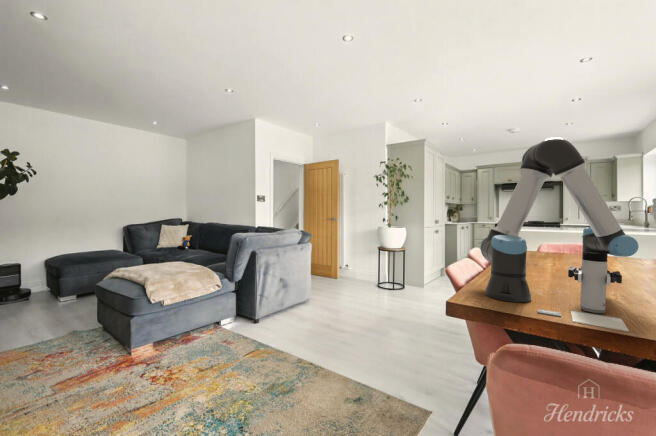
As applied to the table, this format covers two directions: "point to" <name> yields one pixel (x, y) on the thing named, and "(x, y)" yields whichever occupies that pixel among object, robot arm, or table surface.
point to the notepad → (598, 320)
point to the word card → (549, 312)
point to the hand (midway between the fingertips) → (593, 279)
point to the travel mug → (594, 281)
